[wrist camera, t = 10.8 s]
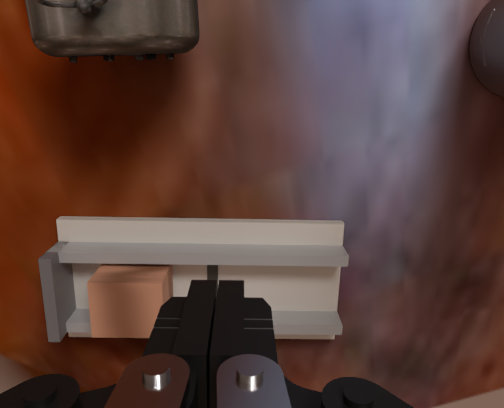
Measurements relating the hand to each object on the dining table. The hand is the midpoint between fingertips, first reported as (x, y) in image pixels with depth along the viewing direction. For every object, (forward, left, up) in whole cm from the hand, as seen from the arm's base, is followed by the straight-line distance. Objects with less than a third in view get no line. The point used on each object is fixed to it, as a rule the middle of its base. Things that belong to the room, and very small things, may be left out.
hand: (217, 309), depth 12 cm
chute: (+3, +12, -27) cm, 30 cm away
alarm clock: (+8, -10, -27) cm, 30 cm away
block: (+9, +12, -26) cm, 30 cm away
